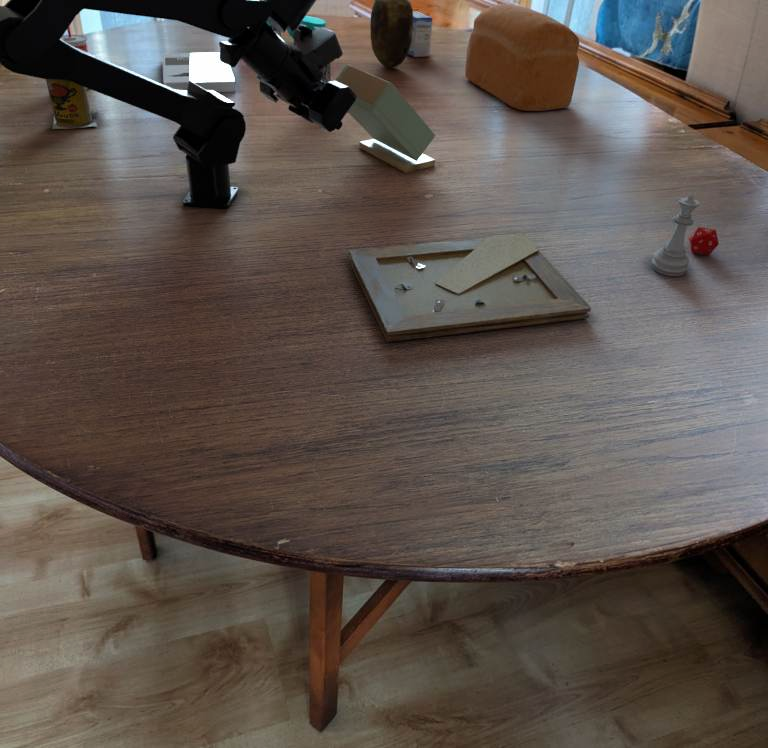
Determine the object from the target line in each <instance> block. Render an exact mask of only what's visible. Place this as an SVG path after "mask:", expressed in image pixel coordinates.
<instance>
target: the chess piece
mask: <svg viewBox="0 0 768 748" xmlns="http://www.w3.org/2000/svg"><path fill="white" fill-rule="evenodd" d="M694 197H695V196H694V194H692V193H691V194H688V195H687V197H681V198H679V199H678V204H679V207H680V211H679V212H678V214H675V215H674V216H673V219H672V221H673V222H674V223H675V224H676V225H675V227H674V230H673V232H672V235H671V237H670V238H669V240H668V241H667V242H665V243H663V244H662V248H660V249H658V250H657V251H655V252H654V254H653V258H652V259H651V262H650V266H651V268H652V269H653V270H654V271H655V272H657V273H658V274H661V275H664V276H669V277H680V276H683V275H685V274H686V273H687V271H688V267H689V266H688V265H689V264H690V259H689V256H688V255H687V254H686V252H687V248H686V247H685V237H686V232H687V228H688V227H690V226H693V224H694V222H695V220H694V218H693V214H692V213H693V212H694V210H695V209H696V208H698V207H699V206H700V202H699V200H697V199H695V198H694Z"/></svg>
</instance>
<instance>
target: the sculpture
mask: <svg viewBox="0 0 768 748" xmlns="http://www.w3.org/2000/svg"><path fill="white" fill-rule="evenodd" d="M413 11H414V9H413V5H412V3H411V1H410V0H374V2H373V5H372V7H371V11H370V24H369V25H370V26H369V28H370V31H369V32H370V34H369V35H370V43H371V50H372V52H373V54H374V56H375V58H376V59H377V61H378V62H379V64H381V65H382V66H383V67H385V68H388V69H392V68H397V67H398V66H400V65H401V64H402V63H403V62H404V61H405V59H406V58H407V56H408V54H407V53H408V51H409V49H410V46H411V42H412V30H413Z"/></svg>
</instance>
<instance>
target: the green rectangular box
mask: <svg viewBox="0 0 768 748" xmlns="http://www.w3.org/2000/svg"><path fill="white" fill-rule="evenodd" d="M334 81H337V82H339V83H341V84H343V85H346V86H348V87H349V88H350V89H351V90H352V91H353V92H354V93H355V94H356V101H355V102H354V103H353V105H352V106H351V108H350V109H349V110H348V112H347V113H348V114H349V115H350V116H351V117H352V118H353V119H354V120H355V121H356V122H357V123H358V124H359V125H360V126H361V127H362V129H364V130H365V131H366V133H368V135H369V136H370V137H371V139H375V140H377V141H379V142H381V143H383V144H385V145H387V146H389V147H391V148H393V149H394V150H396V151H398V152H400V153H402V154H404V155H406V156H408V157H410V158H412V159H414V160H416V161H417V160H418V159H419V157H420V156H421V155H422V153H423V154H424V152H425V151H426V149H427V148H428V147H429V146H430V144H431V143H432V142H433V140H434V138H435V137H436V134H435V132H433V130H432V129H431V128H430V127H429V126H428V125H427V123H426V122H425V121H424V119H423V118H422V117H421V116H420V115H419V114H418V113H417V111H416V110H415V109H414V107H412V105H411V104H410V103H409V102H408V101H407V99H406V98H405V97H404V96H403V94H402V93H401V92H400V91H399V90H398V89H397V87H396V86H395V85H394V84H393V83H392V82H390V81H387V80H384V79H383V78H380V77H378V76H375V75H373V74H371V73H370V72H369V73H368V72H367V71H364V70H363V69H362V70H361V69H359V68H357V67H355V66H352V65H350V64H347V63H346V64H345V65H344V67H343V68H342V69H341V71H340V72H339V74H338V75H337V77H336V78H335V79H334Z"/></svg>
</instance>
